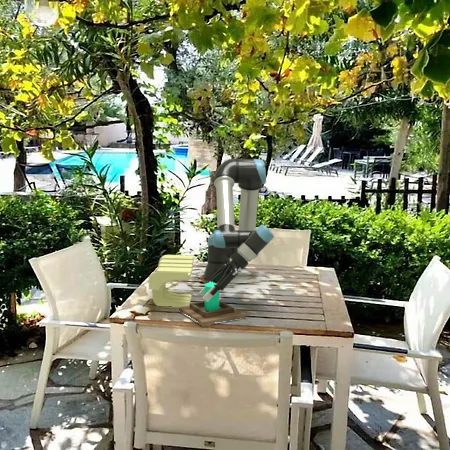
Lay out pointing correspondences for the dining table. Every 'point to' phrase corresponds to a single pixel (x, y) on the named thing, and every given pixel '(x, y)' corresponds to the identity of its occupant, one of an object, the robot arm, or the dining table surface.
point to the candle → (214, 301)
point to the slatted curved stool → (167, 272)
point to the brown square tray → (211, 313)
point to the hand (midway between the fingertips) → (203, 297)
